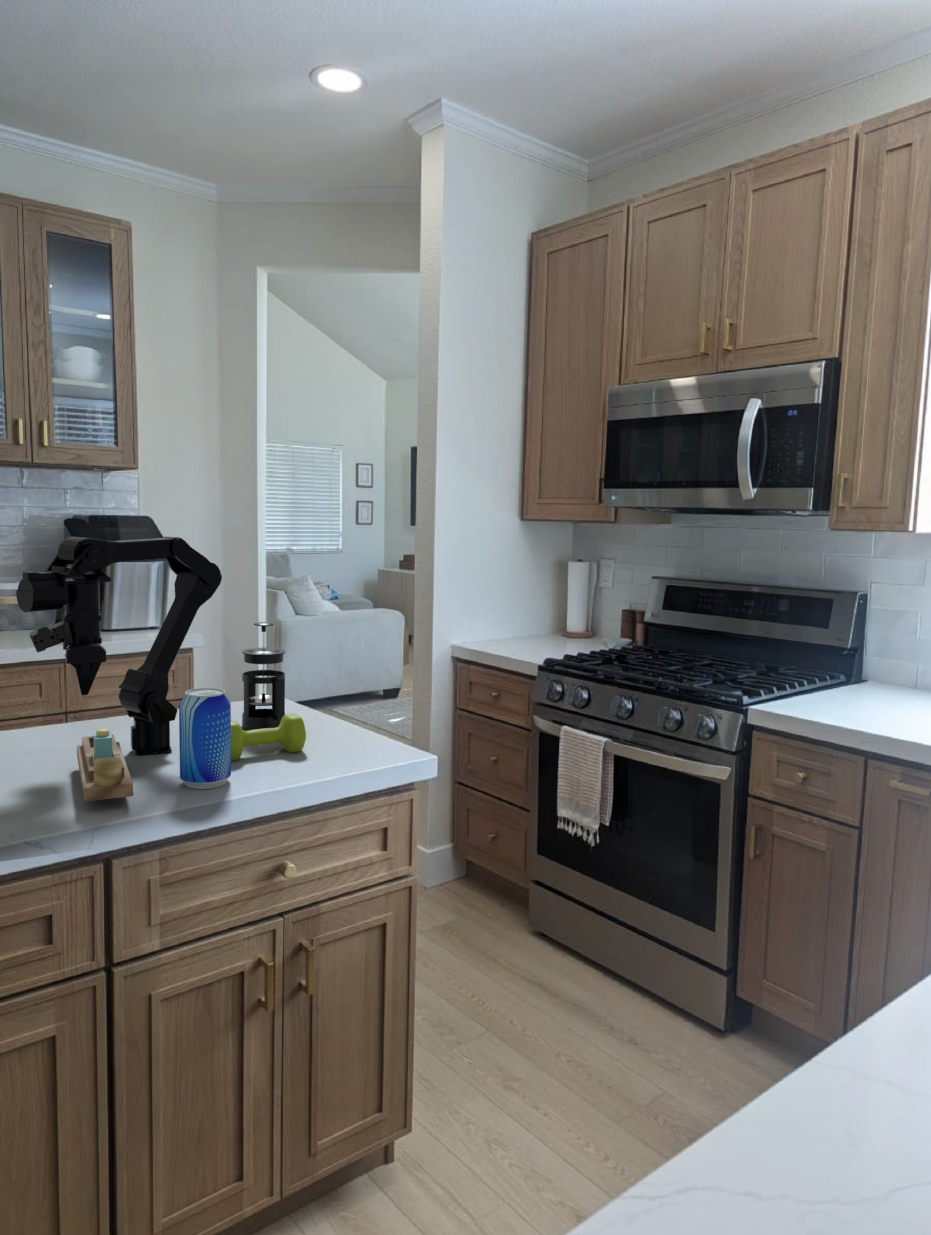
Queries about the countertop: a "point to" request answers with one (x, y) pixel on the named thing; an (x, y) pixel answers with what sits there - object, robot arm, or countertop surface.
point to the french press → (263, 717)
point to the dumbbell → (270, 736)
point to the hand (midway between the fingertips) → (84, 694)
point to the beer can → (205, 738)
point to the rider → (102, 744)
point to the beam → (103, 772)
